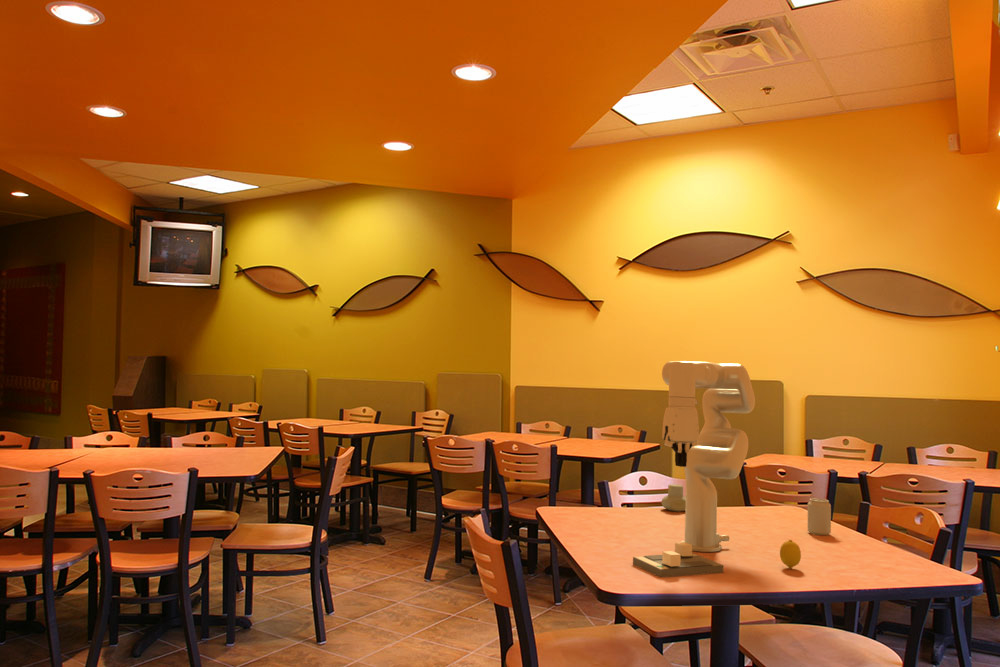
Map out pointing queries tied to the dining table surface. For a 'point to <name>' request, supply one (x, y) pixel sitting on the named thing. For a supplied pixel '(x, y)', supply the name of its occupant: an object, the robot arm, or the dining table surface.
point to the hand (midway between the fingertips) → (680, 466)
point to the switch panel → (687, 566)
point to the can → (819, 517)
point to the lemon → (790, 553)
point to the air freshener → (674, 499)
